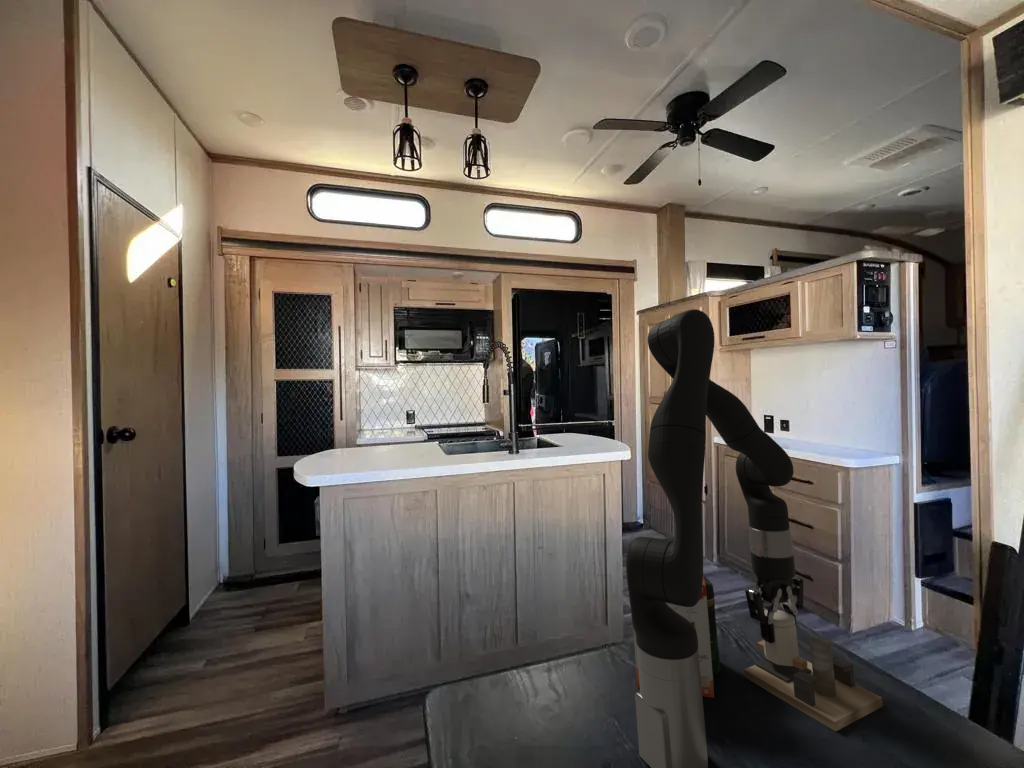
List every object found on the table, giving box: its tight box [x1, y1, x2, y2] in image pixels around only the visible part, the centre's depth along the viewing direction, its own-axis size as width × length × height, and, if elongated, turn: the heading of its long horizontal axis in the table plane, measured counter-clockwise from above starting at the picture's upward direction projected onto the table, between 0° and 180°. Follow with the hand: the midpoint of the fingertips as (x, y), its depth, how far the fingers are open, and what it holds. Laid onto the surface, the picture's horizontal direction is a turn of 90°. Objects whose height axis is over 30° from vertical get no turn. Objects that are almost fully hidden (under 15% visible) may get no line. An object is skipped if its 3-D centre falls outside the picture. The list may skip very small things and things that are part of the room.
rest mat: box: [754, 658, 812, 683], centre depth 88 cm, size 7×7×1 cm
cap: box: [756, 609, 808, 670], centre depth 88 cm, size 9×6×8 cm, turn 26°
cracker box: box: [632, 574, 715, 699], centre depth 88 cm, size 14×6×21 cm, turn 71°
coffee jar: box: [704, 575, 721, 676], centre depth 94 cm, size 10×8×19 cm
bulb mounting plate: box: [743, 637, 884, 732], centre depth 83 cm, size 13×17×10 cm
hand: (779, 636), depth 88 cm, fingers closed on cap, 5 cm apart
